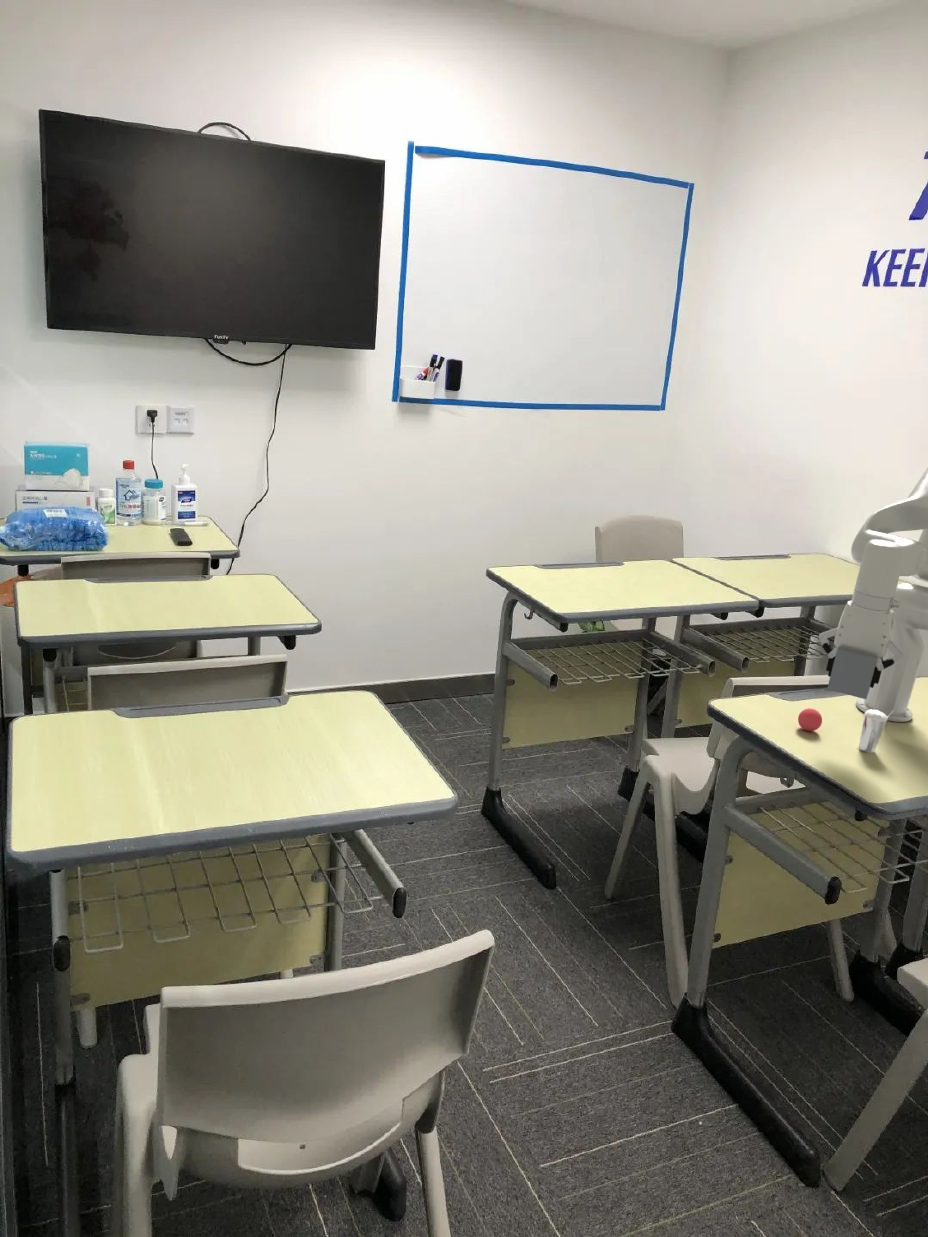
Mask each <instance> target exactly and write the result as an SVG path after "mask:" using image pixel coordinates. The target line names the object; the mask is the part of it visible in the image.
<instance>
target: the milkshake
mask: <svg viewBox="0 0 928 1237" xmlns="http://www.w3.org/2000/svg"><path fill="white" fill-rule="evenodd" d="M893 711H894V710H893ZM893 711H892V712H893ZM892 712H891V713H890V714H889V715H888V717H889V716H890V715H891V714H892ZM888 717H887V716H886V715H885V714H884V713H883V712H880V711H878V710H872V709H870V710H867V711H866V712H864V715H863V721H862V722H863V723H862V728H861V734H860V739H859V745H858V749H859V750H860V751H861V752H864V753H865V754H866V753H867V754H875V751H876V748H877V746H878V743H879V740H880V738H881V735H882V733H883V730H884V729H885V726H886V724H887V721H888V720H887V719H888Z"/></svg>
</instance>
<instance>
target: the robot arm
mask: <svg viewBox="0 0 928 1237" xmlns="http://www.w3.org/2000/svg"><path fill="white" fill-rule="evenodd" d="M920 530H922V532H921V534H920V536H919V538H918V541H917V540H914V539H910V538H906V537H901V536H899V535H894V534H891V533H897V532H898V533H899V532H908V531H909V532H910V531H920ZM850 550H851V551H850V555H851V557H852V559H853V561H854V562H855V563H856V564H859V565H860V566H859V571H858V573H857V578H856V582H855V585H854V590H853V593H852V597H851V600H847V602H846V603H845V607H844V609H843V611H842V614H841V616H840V619H839V622H838V626H837V627H834V628H832V629H828V630H826V631H822V632H821V633H819V635H818V639H819V641H820V644H821V646H822V649H823V650H824V651H825V653H826V655H827V657H828V660H827V664H826V669H825V670H826V671H827V672H828V674H827V677H829V678H830V676H831V672H832V668H833V664H834V660H835V656H836V652H837V649H838V648H842V649H846V650H850V651H854V652H858V653H862V654H866V655H870V656H874V657H878V658H877V662H876V667H875V670H874V673H873V677H872V681H871V684H870V690H869V693H868V696H867V698H866V699H862V698H859V697H857V699H856V702H855V705H856V707H857V708H858V709H859V710H860V711H862V712H863V713H865V712H866V711H867V710H870V709H872V710H878V711H880V712H883V713H884V714H885V715H886V716H887V717H888V715H889V714H890V713H891V712H892V711H893V710H894V711H893V712H892V714H891V715H890V716H889V717H888V719H887V721H890V722H896V723H897V722H898V723H904V722H910V720H912V718H913V712H912V711H911V709H909V708H908V706H909V704H910V699H911V697H912V693H913V690H914V687H915V683H916V679H917V676H918V672H919V669H920V666H921V662H922V659H923V657H924V656H923V655H924V652H925V642H924V638H923V635H922V633H921V630H923V631H927V632H928V586H925V585H924V586H923V585H921V584H915V583H908V582H907V583H905V582H904V583H899V579H900V577H912V578H915V579H916V580H919V581H922V582H925V583H928V467H927V468H926V470H925V471H924V473H923V474H922V475H921V477H920V478H919V480H918V481H917V483H916V485H914V488H913V489H912V490H911V492H910V494H909V495H908V497H907V499H904V500H900V501H897V502H895V503H892V504H889V505H887V506H885V507H883V508H880V509H878V510H877V511H875V512H873V513H872V514H871V515H870V516H869V517H868V518H867V520H865V521H864V524H862V526H861V528H860V529H859V531H858V532H857V534H856V535H855V537H854V539H853V541H852V545H851V549H850ZM898 583H899V584H898ZM831 637H834V642H833V646H834V647H833V646H832V645H831V644H830V642H829V639H828V638H831Z"/></svg>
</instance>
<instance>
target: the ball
mask: <svg viewBox="0 0 928 1237" xmlns="http://www.w3.org/2000/svg"><path fill="white" fill-rule="evenodd" d="M797 720H798V721H797V722H798V724H799V726H800V728H801V729H803V730H805V731H807V732H814V731H817V730H818V729H819V728H820V727H821V726H822V723H823V717H822V715H821V713H820V712H819V711H818V710H816V709H815V708H810V707H808V708H805V709H803V710H802V711H800V712H799V714H798V717H797Z"/></svg>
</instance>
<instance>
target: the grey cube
mask: <svg viewBox="0 0 928 1237" xmlns="http://www.w3.org/2000/svg"><path fill="white" fill-rule="evenodd" d="M877 658H878V657H874V656H870V655H866V654H862V653H858V652H854V651H850V650H846V649H842V648H838V649H837V652H836V656H835V660H834V664H833V668H832V672H831V676H830V677H829V681H828V684H827V688H826V689H827V690H829V691H833V692H837V693H840V694H844V695H847V696H852V697H856V698H862V699H866V698H867V696H868V693H869V690H870V684H871V681H872V677H873V673H874V670H875V667H876V662H877Z"/></svg>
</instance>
